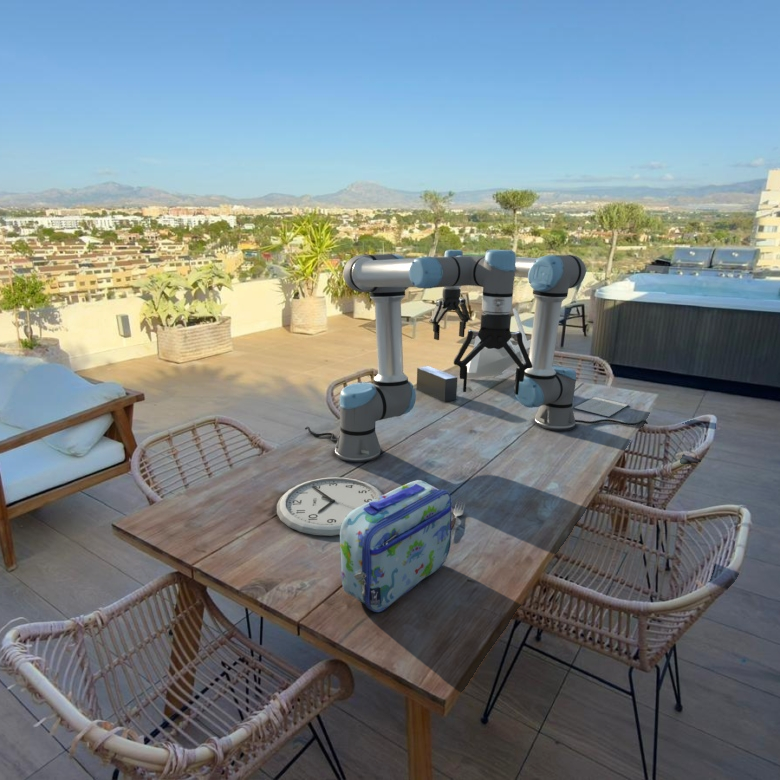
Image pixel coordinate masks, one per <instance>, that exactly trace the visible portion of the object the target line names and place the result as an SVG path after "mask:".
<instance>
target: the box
mask: <svg viewBox="0 0 780 780" xmlns="http://www.w3.org/2000/svg"><path fill="white" fill-rule="evenodd" d="M458 379H459V378H458V376H455V375H454V374H451V373H447V372H445V371H443V370H439V369H437V368H434V367H432V366H429V365H427V366H420V367H417V368H416V390H417V391H419V392H422V393H424V394H426V395H428V396H430V397H432V398H434V399H437V400H439V401H441V402H443V403H447V402H452V401H456V400H457V396H458V395H457V394H458V393H457V392H458Z"/></svg>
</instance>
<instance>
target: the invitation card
mask: <svg viewBox="0 0 780 780" xmlns="http://www.w3.org/2000/svg"><path fill="white" fill-rule="evenodd" d="M628 406H629V404H627V403H623V402H618V401H614V400H609V399H605V398H601V397H596V396H593V397H592V398H590V399H588V400H586V401H584V402H582V403H580V404H578V405H575V406H574V407H573V409H575V410H581V411H584V412H587V413H593V414H596V415H600V416H604V417H608V418H609V417H611V416H613V415H614V414H616V413H617V412H619V411H621V410H623V409H624V408H626V407H628Z"/></svg>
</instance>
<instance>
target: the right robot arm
mask: <svg viewBox="0 0 780 780" xmlns="http://www.w3.org/2000/svg"><path fill="white" fill-rule="evenodd" d="M461 255H464V251H463V250H460V249H446V250H445V252H444V256H443V257H456V256H461ZM475 256H476V257H485V255H475ZM586 272H587V269H586V264H585V262H584V261H583V259H581V258H580V257H579V256H578V255H573V254H548V255H544V256H540V257H522V256H516V270H515V277H516V278H524V279H525V278H526V279H527V280H528V283H529V284H530V285H529V286H530V287H531V288H532V296H533V297H534V298H535V308H534V314H533V315H534V316H533V322H532V323H533V324H532V331H531V337H530V339H531V345H530V353H529V355H528V356H529V359H530V361H531V363H532V368H528V369H526V370H525V372H524V380H523V382H519V391H518V395H515V397H516V399H517V401H518V402H519V403H520V404H521V405H522V406H524V407H526V408H531V409H534V408H538V410H537V411H536V413H535V416H534V424H535V425H536V426H537V427H539V428H542V429H544V430H549V431H556V432H567V431H572V430H574V429H575V428H576V423H580V424H581V423H582V424H588V425H589V424H591V425H593V424H597V423H602V422H603V423H604V422H608V423H609V422H610V423H616V424H621V425H625V426H638V425H641V424H642V423H644V424H645V425H648V424H649V423H648V421H647V420H645V419H642V420H640V421H637V422H627V421H621V420H616V419H608V418H605V419H603V418H602V419H597V420H593V421H591V420H590V421H588V420H582V419H576V418H575V417H576V416H575V413H574V407H573V405H574V398H575V391H576V383H577V372H576V371H575V369H573V368H571V367H570V368H569V367H566V366H561V365H554V358H555V351H556V344H557V338H558V332H559V331H558V330H559V323H560V318H561V310H562V305H563V301H564V300H565V299H567V298H568V294H569V289H572V288H573V289H574V288H575V287H577V286H579V285H580V284H581V283H582V282H583V280H584V279H585V276H586V274H587V273H586ZM515 277H514V278H515ZM461 287H462V286H451V287H442V296H441V297H442V300H439V299H437V300H436V302H435V307H434V309H433V312H432V313H431V316H430V318H429V321H428V322H429V324H432V327H433V328H432V332H433V333H434V334H433V340H436V341H440V333H441V331H440V329H441V325H440V322H441V321H442V319H443V318H444V317H445V315H446V314H447V313H448V312H451V311H455V313H456V315H457V316H458V318H459V319H460V321H459V324H458V325H459V328H458V337H461V338H464V337H465V330H466V328H467V323H468V322H469V321H470V320H471V316H470V314H469V311H468V307H467V304H466V302H467V301H466V299H465V298H461V291H462V289H461ZM514 388H515V385H514V386H513V389H514Z"/></svg>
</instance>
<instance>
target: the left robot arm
mask: <svg viewBox="0 0 780 780" xmlns="http://www.w3.org/2000/svg"><path fill="white" fill-rule="evenodd" d="M476 256H477V255H469V254H463V255H461V256H456V257H444V256H422V257H410V258H406V257H404V256H402V255H400V254H397V253H396V254H393V253H382V254H379V253H378V254H358V255H355V256H353V257H352V258H350V259H348V260H347V262H346V263H345V265H344V266H343V271H342V276H343V280H344V282H345V285H347V286H348V288H349V289H350V290H353V291H355V292H358V293H369V298H370V300H372V301H373V302H374V314H375V317H374V318H375V336H376V337H375V339H376V358H377V359H376V360H377V375H376V376H374V378H373V383H371V382H365V381H364V382H363V381H362V382H355V383H351V384H348V385H346V386H345V387H343V388H342V389H341V391H340V394H339V425H340V427H339V428H340V429H339V430H340V431H339V435H338V437H337V438H335V434H334V433H332V432H322V433H315V432H313V431H312V430H311V428H310V426H305V428H304V430H307V431H308V433H309V434H310V435H312V436H314V437H322V436H331V437H330V441H331V442H336V443H335V447H334V455H335V456H336V458H338V459H339V460H341V461H345V462H349V463H365V462H370V461H374V460H376V459H378V458H379V457H380V456H381V451H382V450H381V449H382V448H381V445H380V442H379V439H378V435H377V432H376V422H378V421H383V420H387V419H390V418H391V419H392V418H395V417H398V418H399V417H401V416H403V415H406V414H409V413H410V412H411V411H412V410H413V409H414V406H415V405H416V399H417V394H416V389H415V388H414V385H413V383H412V382H411V381H409V376H407V375H406V374H405V373H404V355H403V327H402V326H403V325H402V301H403V300H404V298H405V297H406V291H407V290H408V289H409V288H418V289H429V290H430V289H434V288H435V289H437V288H444V287H451V286H461V287H466V286H472V287H480V288H482V298H481V311H482V313H481V314H480V325H479V326H480V328H479V330H478V331H477V330H473V329H471V328H470V329H468V330H467V335H466V338H465V340H464V341H463V343H462V345H461V347H460V348H459V350H458V352H457V354H456V355H455V357H454V359H453V365H454V366H457V367H459V379H460V380H463V382H462V384H463V385H462V392H463V393H467V383H468V379H467V369H468V368H467V366H466V365H467V364H468V363H469V362H470V361H471V360H472V359H473V358H474V357H475V356H476V355H477V354H478V353H479V352H480V351H481V350H482V349H483V348H484V347H486V348H488V349H492V348H495V349H500V348H503V347H504V349H505V350H506V351H507V352H508V354H509V355H510V356H511V358H512V359H513V360H514V361H515V363H514V364H516V366H517V367H516V369H515V379H514V386H515V388H514V387H513V392H514V396H516V395H518V391H519V382H523V380H524V372H525V370H526V369H528V368H532V363H531V361H530V359H529V355H528V354H527V351H526V349H525V347H524V344H523V340H522V333H521V332H520V331H519V330H518V331H517V332H511V321H512V314H511V312H513V310H512V309H513V297H514V285H515V270H516V257H517V255H516V252H515V251H514V250H512V249H487V250H486V251H485V254H484V256H485V257H476ZM476 336H478V337H479V338H480V340H481V341H480V342H479V343H478V345H477V346H476V347H475V348H474V347H473V348H474V349H473V348H472V350H471V351H470V352H469V353H468V354H467V355H466V356H465V357H464V358H463V356H464V354H465V352H466V351H467V349H468V348H469V346H470V345H471V343H472V341H473V340H475V339H476ZM512 338H513V340H514V341H515V342H516V343H517V344H518V345H519V348H520V350H521V353H522V355H523V357H524V360H525V362H526V363H523V361H521V359H519V358H518V357H517V355H516V354H515V353H514V352H513V350H512V349H511V348H510V346H509V345H508V344H507V342H508V341H509V340H510V341H511V339H512ZM462 358H463V359H462Z"/></svg>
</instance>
